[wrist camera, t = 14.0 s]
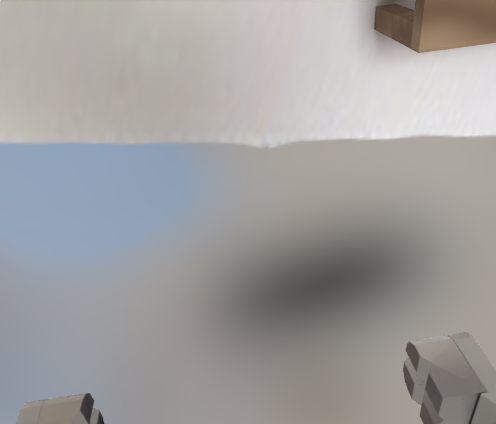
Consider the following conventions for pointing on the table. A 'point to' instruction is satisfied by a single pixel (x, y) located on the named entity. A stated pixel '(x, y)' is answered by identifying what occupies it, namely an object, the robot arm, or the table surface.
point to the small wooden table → (439, 24)
